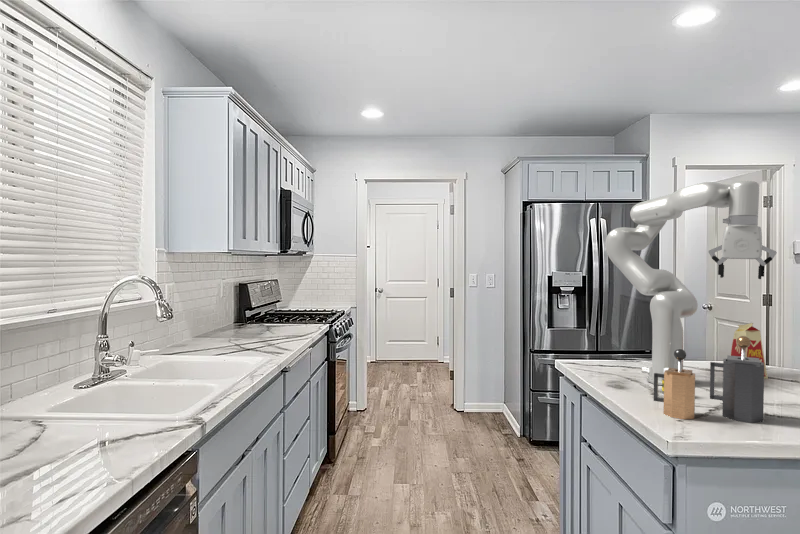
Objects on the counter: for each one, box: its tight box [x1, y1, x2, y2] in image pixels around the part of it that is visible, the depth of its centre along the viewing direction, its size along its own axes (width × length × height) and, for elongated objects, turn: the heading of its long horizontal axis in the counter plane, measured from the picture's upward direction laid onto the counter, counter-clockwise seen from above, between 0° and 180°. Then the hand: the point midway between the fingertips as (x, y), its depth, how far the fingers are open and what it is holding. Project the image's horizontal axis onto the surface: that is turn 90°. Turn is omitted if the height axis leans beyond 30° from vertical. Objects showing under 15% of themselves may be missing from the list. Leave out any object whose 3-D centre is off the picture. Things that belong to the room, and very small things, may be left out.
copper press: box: [653, 368, 696, 420], centre depth 139 cm, size 10×7×12 cm
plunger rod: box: [736, 336, 751, 360], centre depth 137 cm, size 3×3×21 cm
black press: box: [709, 354, 765, 424], centre depth 138 cm, size 12×9×16 cm
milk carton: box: [730, 322, 769, 380], centre depth 188 cm, size 9×9×20 cm
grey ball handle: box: [674, 349, 687, 372], centre depth 138 cm, size 3×3×17 cm
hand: (740, 278), depth 156 cm, fingers open, 9 cm apart
